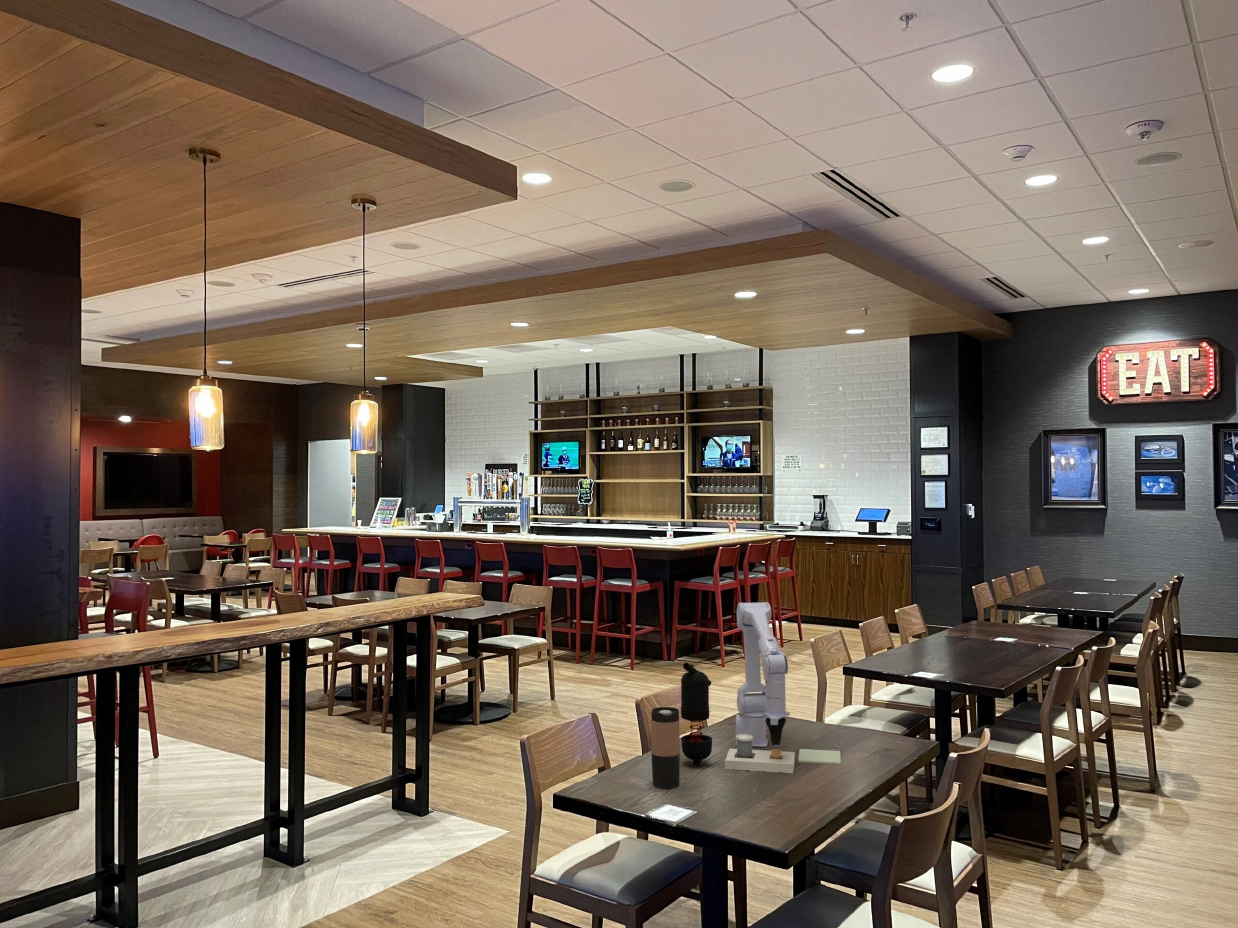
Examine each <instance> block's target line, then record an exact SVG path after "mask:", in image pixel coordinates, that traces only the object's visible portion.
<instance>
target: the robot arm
mask: <svg viewBox="0 0 1238 928" xmlns="http://www.w3.org/2000/svg"><path fill="white" fill-rule="evenodd" d="M771 619H772V608H771V605H770V603H769V602H768V601H765V602H738V604H737V607H736V624H737V625H736V626H737V628H738V629H739V630H742V634H743V645H744V646H743V647H744V648H743V650H744V651H743V653H744V670H745V671H744V672H745V683H743V684H742V685H741V686H740V687H738V689H737V695H736V696H737V697H736V707H737V711H738V712H739V713H736V714H735V735H734V736H735V746H737V739H736V735H739V734H749V735H752V736H753V740H752V747H755V748H756V747H760V748H762V747H763V748H767V747H768V743H769V739H768V738H767V728H768V731H769V735H770V741H771V744H772V745H773V746H780V744H781V741H782V733H783V728H784V727H785V725H786V721H787V718H786V717H788V716H789V717H790V716H791V712H790V711H787V710H786V709H787V708H786V704H787V703H786V701H787V700H786V675H787V674H788V672H789V663H788V661H789V660H788V657H787V655H786V654H785V653H784V652H783V651H781V648H780V645H779V644H778V639H777V638H776V637H775V636H774V635H772V632H771V628H770V622H771ZM761 658H762V660H761ZM761 666H762V673H763V680H764V684H763V683H762V676H761Z"/></svg>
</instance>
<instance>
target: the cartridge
mask: <svg viewBox="0 0 1238 928" xmlns="http://www.w3.org/2000/svg"><path fill="white" fill-rule="evenodd" d="M736 739H737V745H736V749H737V758H751V759H752V750H753V746H752V740H753V736H752V735H749V734H739V735H736V738H735V740H736Z"/></svg>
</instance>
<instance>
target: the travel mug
mask: <svg viewBox="0 0 1238 928" xmlns="http://www.w3.org/2000/svg"><path fill="white" fill-rule="evenodd" d="M650 739H651V742H650V743H651V745H650V746H651V749H650V750H651V770H652V773H651V774H652V786H653V787H655V788H657V789H660V790H661V789H662V790H672V789H677V788H678V787H679V786H680V768H681V767H680V765H681V763H680V762H681V746H680V745H681V743H680V739H681V738H680V710H679V708H676V707H673V706H672V707H671V706H659V707H658V706H657V707H654V708H652V709H651V736H650Z"/></svg>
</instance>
